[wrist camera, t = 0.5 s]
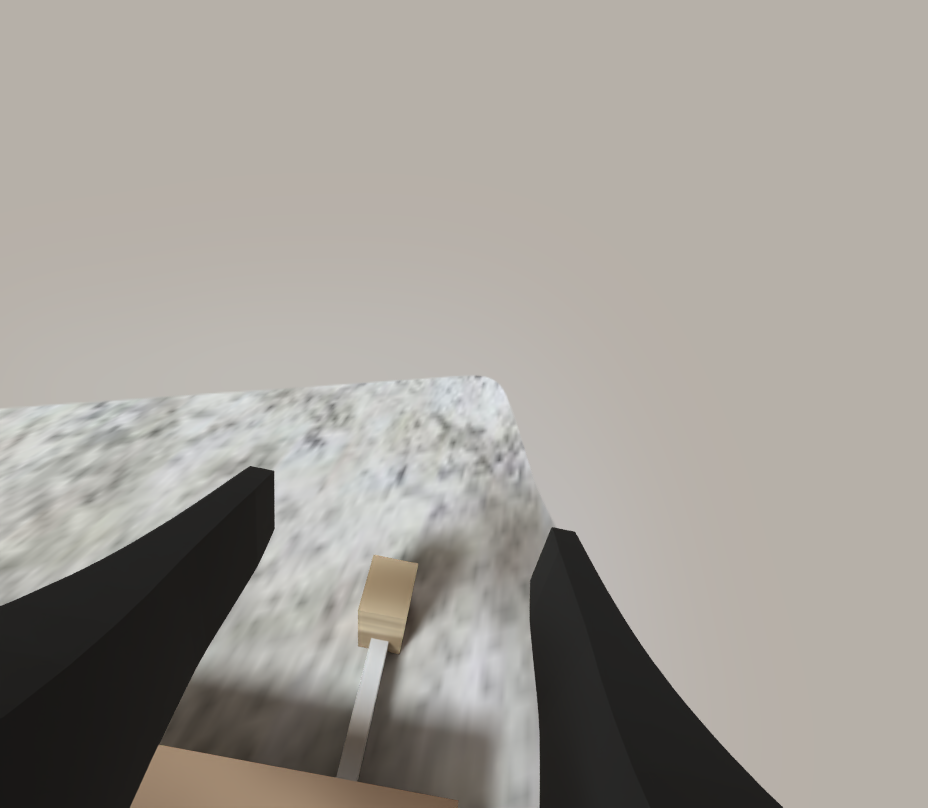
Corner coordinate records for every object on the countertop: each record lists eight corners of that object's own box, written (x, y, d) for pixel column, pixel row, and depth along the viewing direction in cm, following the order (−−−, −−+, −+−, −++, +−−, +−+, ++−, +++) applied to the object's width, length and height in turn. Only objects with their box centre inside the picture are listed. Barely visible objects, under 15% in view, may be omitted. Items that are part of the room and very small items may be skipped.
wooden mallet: (349, 893, 21) (346, 905, 17) (278, 880, 21) (256, 889, 17) (409, 603, 30) (418, 563, 26) (360, 594, 30) (360, 552, 26)
